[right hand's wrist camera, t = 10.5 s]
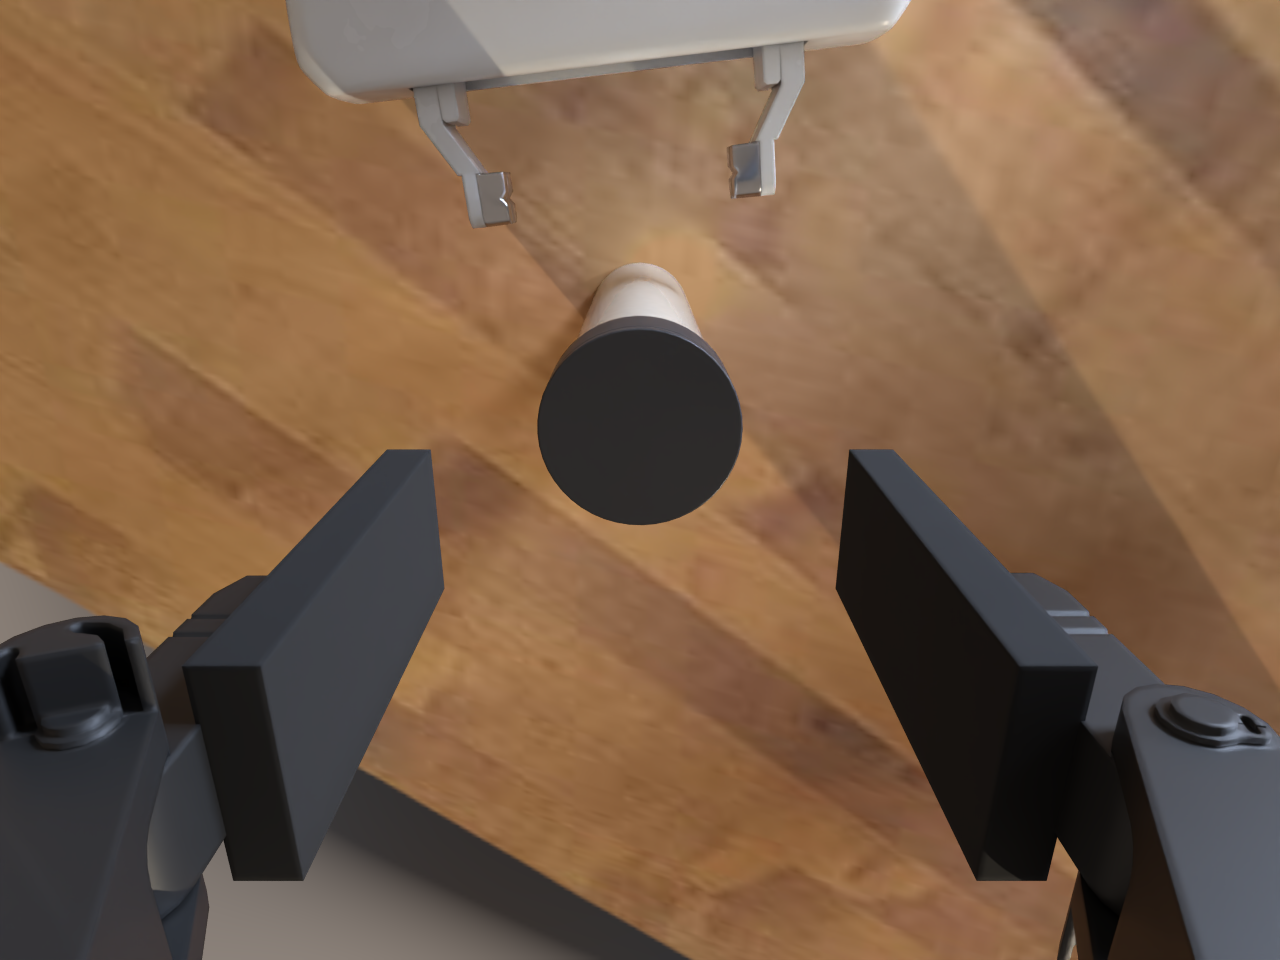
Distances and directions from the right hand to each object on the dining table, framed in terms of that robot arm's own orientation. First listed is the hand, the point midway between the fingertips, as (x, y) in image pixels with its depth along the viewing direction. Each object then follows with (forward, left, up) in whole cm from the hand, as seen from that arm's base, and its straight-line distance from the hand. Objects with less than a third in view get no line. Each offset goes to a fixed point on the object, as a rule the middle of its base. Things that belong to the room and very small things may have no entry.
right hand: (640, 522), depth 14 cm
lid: (0, 0, -6) cm, 6 cm away
